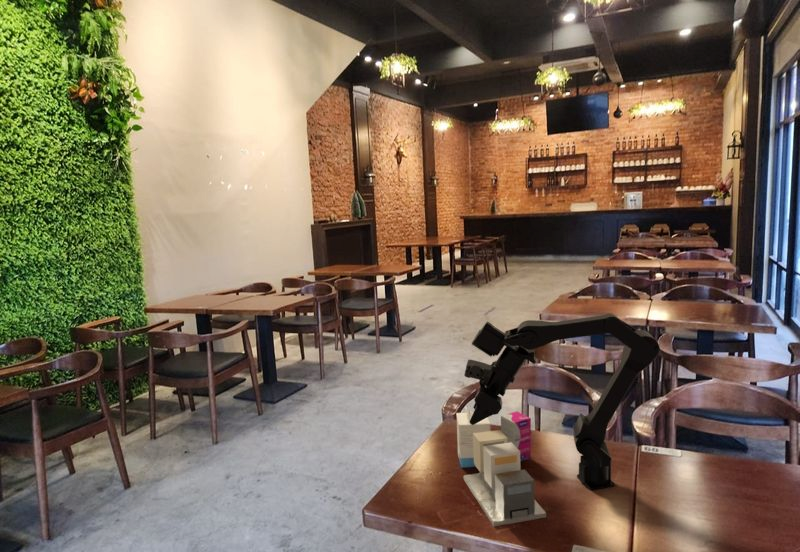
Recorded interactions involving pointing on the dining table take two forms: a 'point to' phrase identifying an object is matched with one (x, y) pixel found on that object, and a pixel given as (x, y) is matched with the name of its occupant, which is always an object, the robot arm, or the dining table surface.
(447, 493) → the dining table surface
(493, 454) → the block
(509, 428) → the supplement box
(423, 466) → the dining table surface
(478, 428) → the ink box
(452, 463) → the dining table surface
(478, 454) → the block
